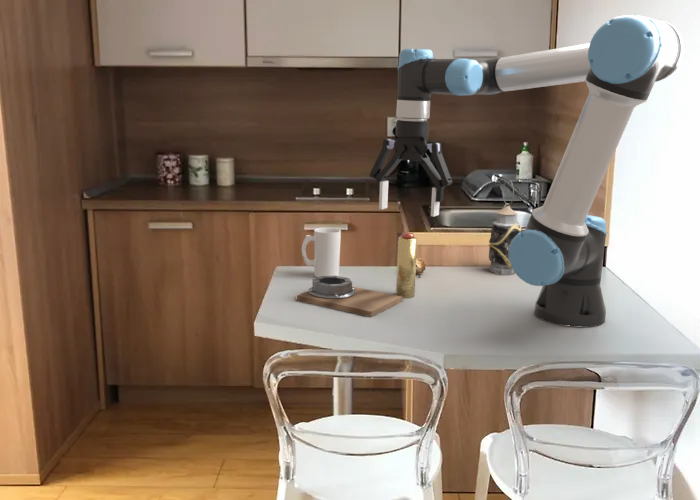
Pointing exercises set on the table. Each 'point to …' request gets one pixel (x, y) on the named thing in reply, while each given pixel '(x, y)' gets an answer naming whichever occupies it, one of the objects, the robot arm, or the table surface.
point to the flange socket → (331, 287)
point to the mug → (324, 251)
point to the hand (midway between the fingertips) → (408, 212)
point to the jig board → (356, 301)
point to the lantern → (503, 239)
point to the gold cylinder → (406, 265)
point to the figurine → (420, 266)
